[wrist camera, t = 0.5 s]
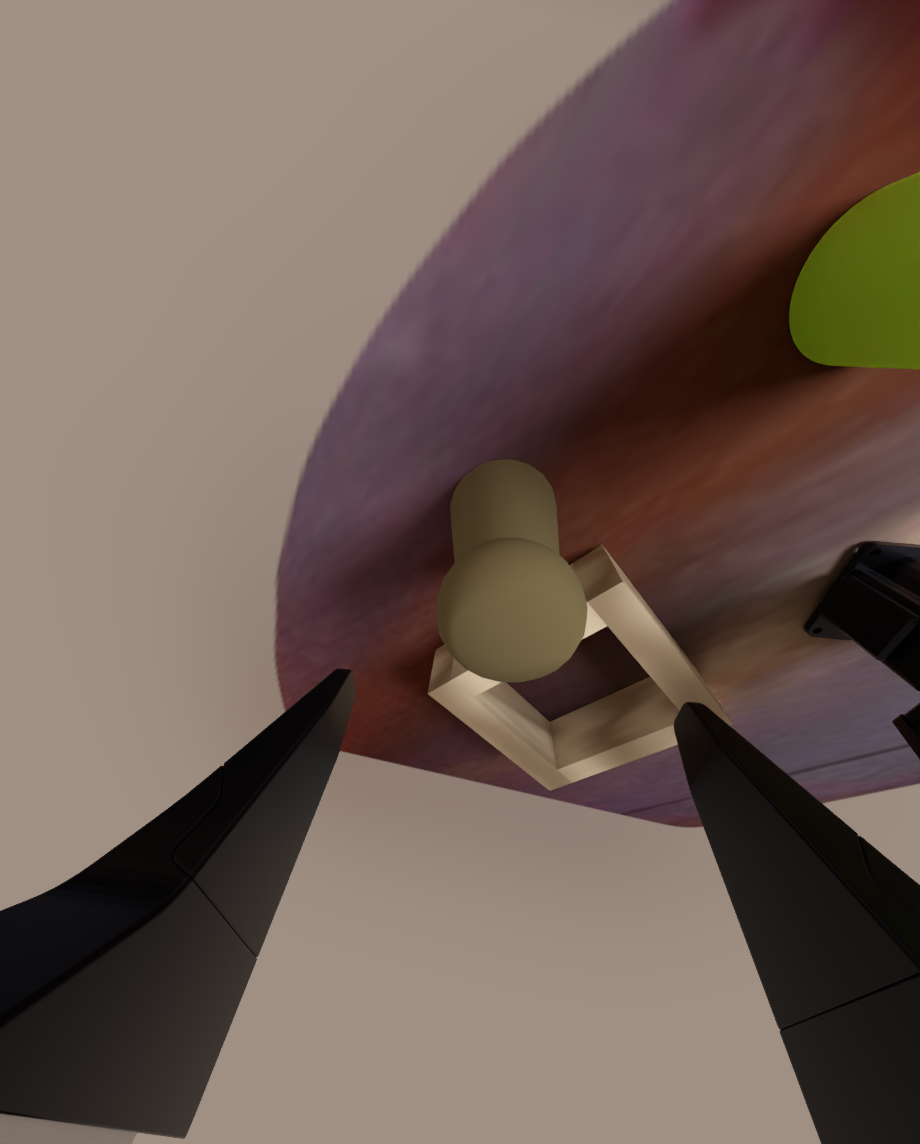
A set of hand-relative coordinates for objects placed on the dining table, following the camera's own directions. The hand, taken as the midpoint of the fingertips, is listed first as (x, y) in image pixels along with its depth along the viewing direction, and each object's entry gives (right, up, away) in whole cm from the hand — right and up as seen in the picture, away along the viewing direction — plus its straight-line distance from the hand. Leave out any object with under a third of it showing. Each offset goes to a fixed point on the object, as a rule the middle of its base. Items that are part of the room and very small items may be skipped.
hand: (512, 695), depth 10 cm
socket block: (+6, -3, +16) cm, 18 cm away
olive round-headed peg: (+1, +7, +11) cm, 13 cm away
